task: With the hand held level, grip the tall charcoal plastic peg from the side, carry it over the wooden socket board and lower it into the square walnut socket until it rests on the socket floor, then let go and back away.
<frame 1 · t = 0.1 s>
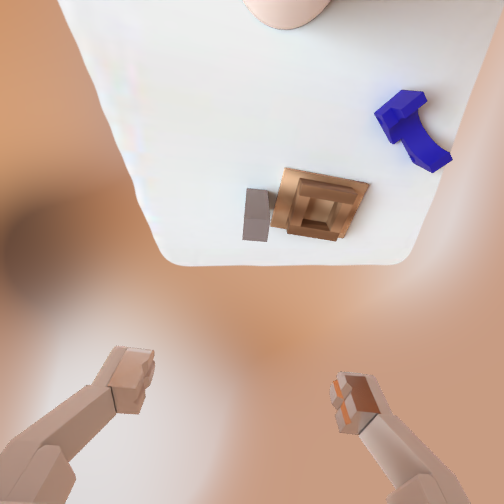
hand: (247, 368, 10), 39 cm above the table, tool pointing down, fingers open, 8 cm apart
blue cradle bracket: (402, 132, 40), on the table
socket board: (315, 204, 48), on the table
peg: (256, 199, 47), on the table
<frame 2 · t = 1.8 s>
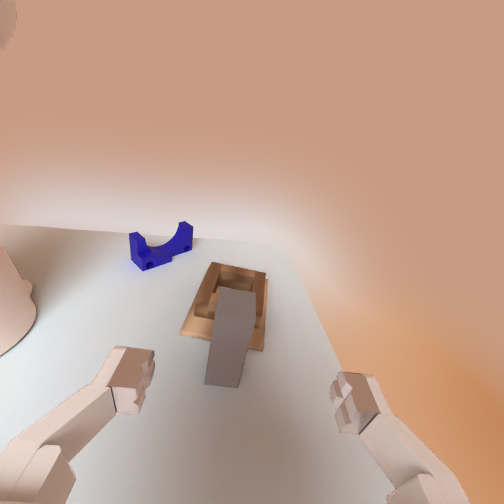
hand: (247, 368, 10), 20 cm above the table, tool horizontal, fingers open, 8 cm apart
blue cradle bracket: (165, 257, 50), on the table
socket board: (230, 304, 41), on the table
peg: (222, 370, 31), on the table
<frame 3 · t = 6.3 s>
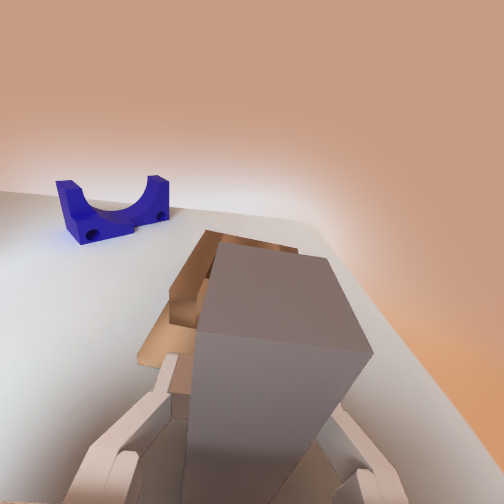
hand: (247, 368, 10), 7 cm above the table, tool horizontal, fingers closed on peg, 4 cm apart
blue cradle bracket: (126, 228, 32), on the table
socket board: (239, 302, 23), on the table
peg: (227, 455, 13), on the table, touching gripper
when the fingers open (9 cm above the table, at t = 10.0 s): peg drops 1 cm, resting on socket board.
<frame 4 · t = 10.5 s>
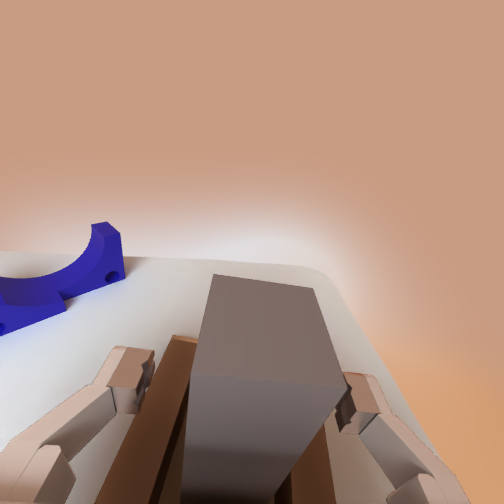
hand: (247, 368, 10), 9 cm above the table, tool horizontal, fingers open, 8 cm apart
blue cradle bracket: (59, 300, 23), on the table
socket board: (221, 471, 14), on the table
peg: (222, 465, 14), point 1 cm above the table, touching socket board
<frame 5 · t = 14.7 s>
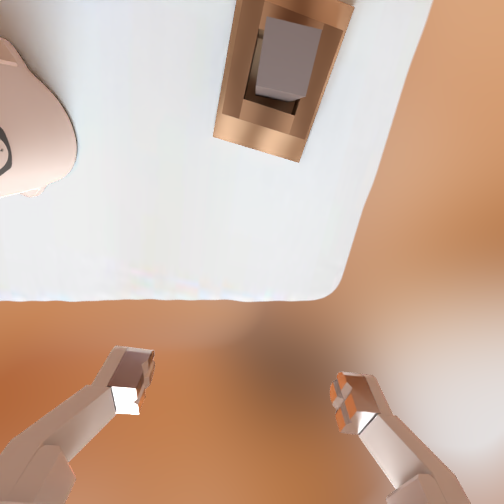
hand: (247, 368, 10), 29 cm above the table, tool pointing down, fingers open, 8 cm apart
socket board: (275, 80, 29), on the table
peg: (275, 79, 28), point 1 cm above the table, touching socket board
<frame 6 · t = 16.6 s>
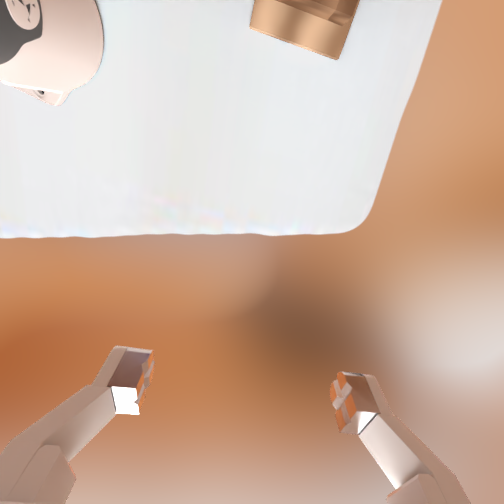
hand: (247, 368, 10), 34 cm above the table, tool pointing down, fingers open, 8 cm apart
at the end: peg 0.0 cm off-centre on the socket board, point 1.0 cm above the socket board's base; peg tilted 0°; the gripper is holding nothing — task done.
